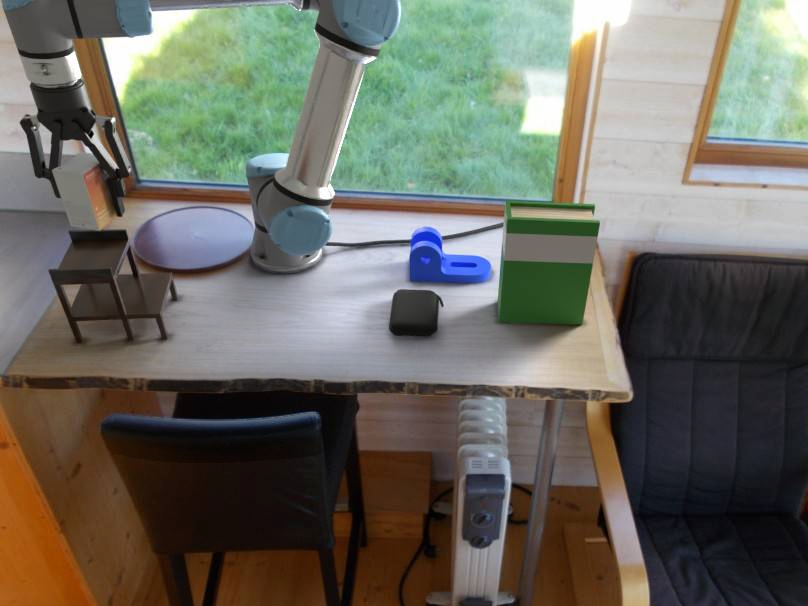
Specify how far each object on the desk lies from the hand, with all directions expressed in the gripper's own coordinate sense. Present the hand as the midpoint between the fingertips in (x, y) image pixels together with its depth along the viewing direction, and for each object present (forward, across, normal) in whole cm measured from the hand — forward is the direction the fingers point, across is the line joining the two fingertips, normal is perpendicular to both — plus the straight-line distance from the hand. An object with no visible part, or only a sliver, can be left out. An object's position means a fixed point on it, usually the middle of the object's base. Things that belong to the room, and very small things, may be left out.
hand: (97, 213), depth 130 cm
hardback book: (+23, +82, -4) cm, 85 cm away
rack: (+23, 0, 0) cm, 23 cm away
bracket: (+23, +65, +13) cm, 70 cm away
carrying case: (+23, +56, -4) cm, 60 cm away
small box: (+1, 0, 0) cm, 1 cm away
